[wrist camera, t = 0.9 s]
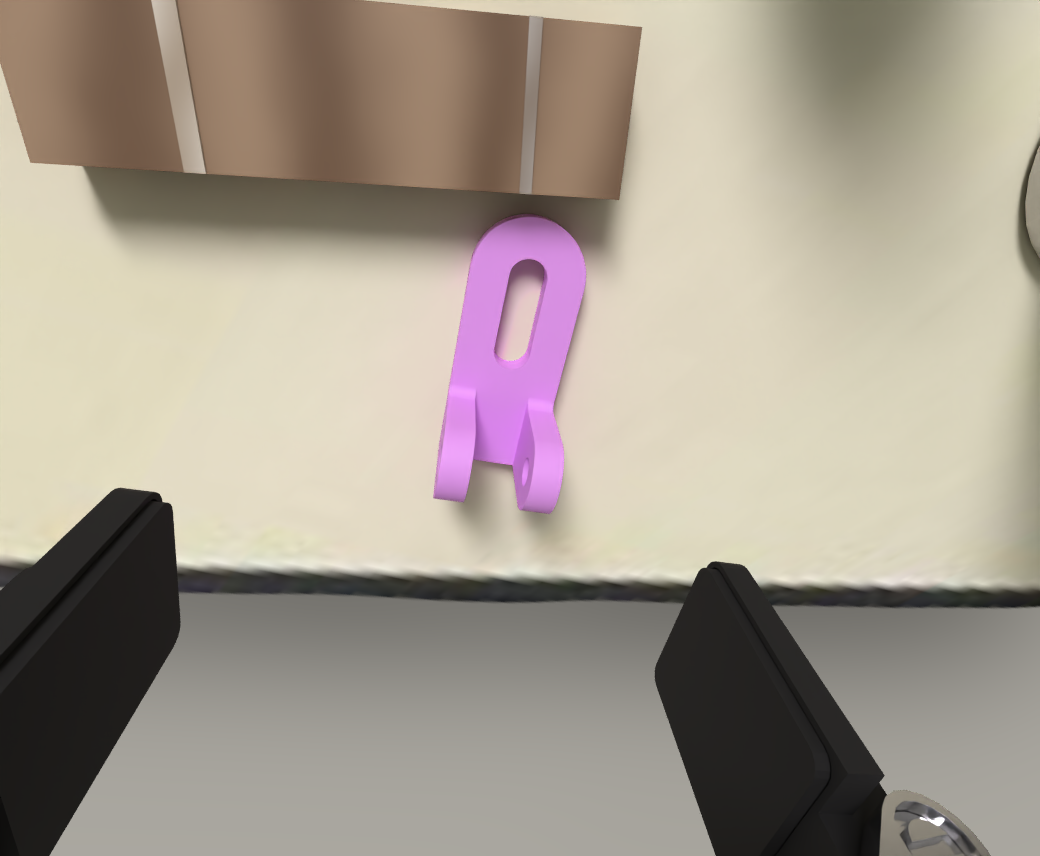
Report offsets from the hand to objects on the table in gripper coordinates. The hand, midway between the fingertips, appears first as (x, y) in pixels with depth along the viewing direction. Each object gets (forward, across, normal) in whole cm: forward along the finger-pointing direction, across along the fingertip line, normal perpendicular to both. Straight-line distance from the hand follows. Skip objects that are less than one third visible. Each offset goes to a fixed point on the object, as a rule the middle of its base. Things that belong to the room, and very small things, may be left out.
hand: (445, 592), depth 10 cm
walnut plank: (+20, +6, -8) cm, 22 cm away
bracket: (+20, -3, +1) cm, 21 cm away
